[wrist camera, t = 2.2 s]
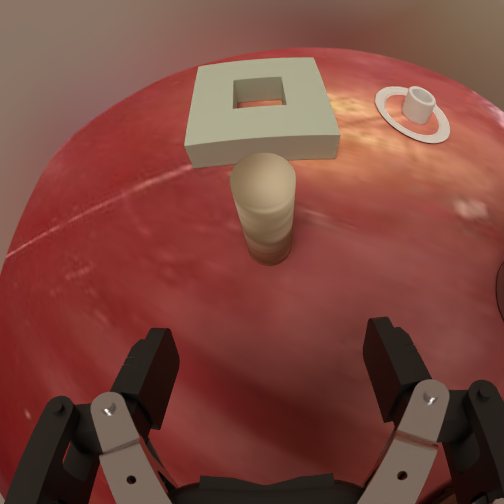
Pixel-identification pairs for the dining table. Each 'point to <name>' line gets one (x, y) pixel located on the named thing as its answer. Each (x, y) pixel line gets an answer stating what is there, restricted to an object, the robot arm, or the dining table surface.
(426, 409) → the robot arm
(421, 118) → the candle holder
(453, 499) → the scroll
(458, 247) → the dining table surface
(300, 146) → the square hole plate
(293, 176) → the birch peg
